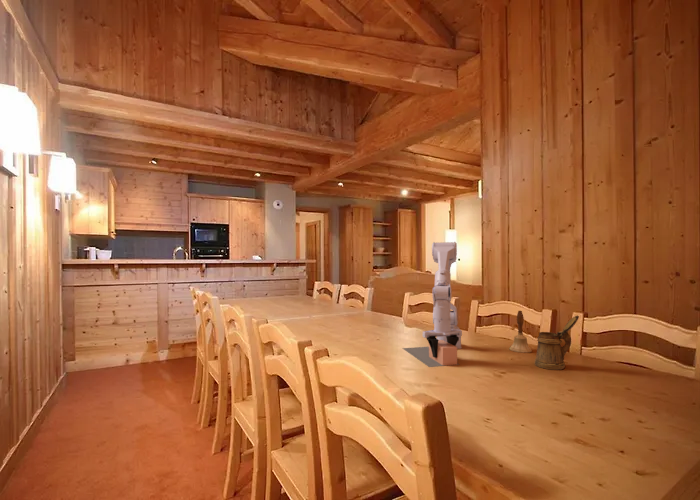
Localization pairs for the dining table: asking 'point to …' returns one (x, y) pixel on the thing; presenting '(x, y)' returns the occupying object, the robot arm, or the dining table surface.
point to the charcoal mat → (424, 356)
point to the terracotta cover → (445, 353)
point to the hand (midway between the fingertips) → (442, 356)
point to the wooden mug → (553, 347)
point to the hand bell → (520, 337)
